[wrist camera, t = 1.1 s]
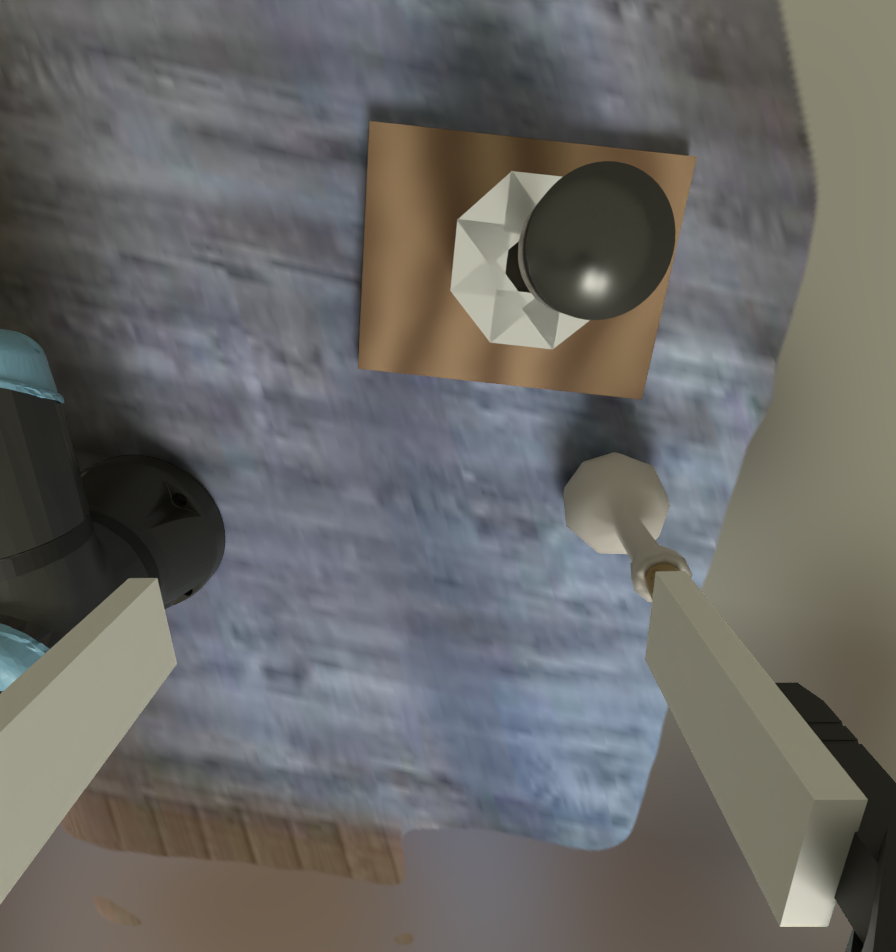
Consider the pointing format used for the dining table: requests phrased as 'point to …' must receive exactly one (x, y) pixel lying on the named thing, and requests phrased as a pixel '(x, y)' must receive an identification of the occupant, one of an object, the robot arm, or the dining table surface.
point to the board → (432, 252)
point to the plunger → (597, 241)
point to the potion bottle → (622, 515)
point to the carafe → (504, 267)
